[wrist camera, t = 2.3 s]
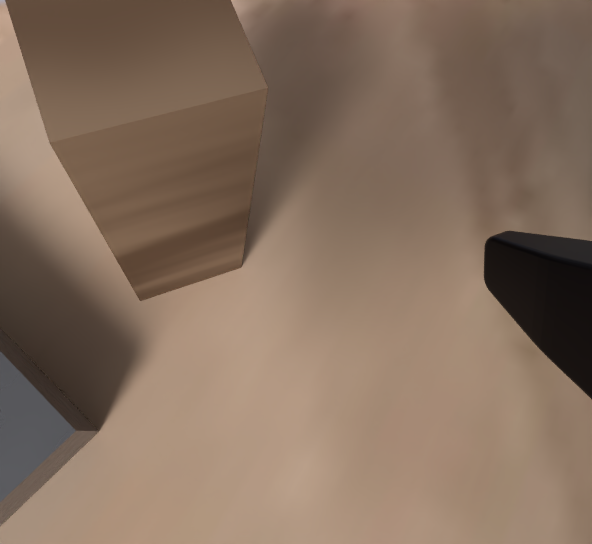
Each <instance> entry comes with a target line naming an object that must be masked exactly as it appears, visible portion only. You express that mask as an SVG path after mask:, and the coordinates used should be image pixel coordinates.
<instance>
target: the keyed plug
mask: <svg viewBox="0 0 592 544" xmlns="http://www.w3.org/2000/svg"><path fill="white" fill-rule="evenodd" d="M5 1H6V4H7V7H8V11H9V14H10V17H11V20H12V23H13V27H14V30H15V33H16V36H17V40H18V43H19V46H20V49H21V52H22V56H23V59H24V62H25V65H26V68H27V72H28V75H29V78H30V81H31V85H32V88H33V91H34V94H35V97H36V101H37V104H38V107H39V110H40V113H41V117H42V120H43V123H44V126H45V130H46V133H47V136H48V139H49V142H50V144H51V146H52V148H53V150H54V151H55V153H56V155H57V157H58V158H59V160H60V162H61V163H62V165H63V167H64V169H65V170H66V172H67V174H68V176H69V177H70V179H71V181H72V183H73V184H74V186H75V188H76V190H77V191H78V193H79V195H80V197H81V198H82V200H83V202H84V204H85V205H86V207H87V209H88V211H89V212H90V214H91V216H92V218H93V219H94V221H95V223H96V225H97V226H98V228H99V230H100V232H101V233H102V235H103V237H104V239H105V240H106V242H107V244H108V246H109V247H110V249H111V251H112V253H113V254H114V256H115V258H116V260H117V261H118V263H119V265H120V267H121V268H122V270H123V272H124V274H125V275H126V277H127V279H128V281H129V282H130V284H131V286H132V288H133V289H134V291H135V293H136V295H137V296H138V298H139V300H140V301H142V300H145V299H148V298H151V297H154V296H157V295H160V294H163V293H166V292H169V291H172V290H175V289H178V288H181V287H184V286H187V285H190V284H193V283H196V282H199V281H202V280H205V279H208V278H211V277H214V276H217V275H220V274H223V273H226V272H229V271H232V270H235V269H238V268H241V265H242V259H243V252H244V245H245V239H246V232H247V225H248V219H249V212H250V206H251V199H252V192H253V186H254V179H255V172H256V166H257V159H258V152H259V146H260V139H261V132H262V126H263V119H264V112H265V106H266V99H267V92H268V86H267V84H266V81H265V79H264V77H263V74H262V72H261V70H260V67H259V65H258V63H257V60H256V58H255V56H254V54H253V51H252V49H251V47H250V44H249V42H248V40H247V37H246V35H245V33H244V30H243V28H242V26H241V23H240V21H239V19H238V16H237V14H236V12H235V9H234V7H233V5H232V2H231V0H5Z"/></svg>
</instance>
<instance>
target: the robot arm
mask: <svg viewBox="0 0 592 544" xmlns="http://www.w3.org/2000/svg"><path fill="white" fill-rule="evenodd" d="M484 280H485V284H486V286H487V288H488V289H489V291H490V292H491V293H492V294H493V296H494V297H495V298H496V299H497V300H498V301H499V303H500V304H501V305H502V306H503V307H504V308H505V310H506V311H507V312H508V313H509V314H510V315H511V317H512V318H513V319H514V320H515V321H516V322H517V324H518V325H519V326H520V327H521V328H522V329H523V331H524V332H525V333H526V334H527V335H528V337H529V338H530V339H531V340H532V341H533V342H534V343H535V344H536V346H537V347H538V348H539V349H540V350H541V351H542V352H543V353H544V354H545V355H546V356H547V357H548V358H549V359H550V360H551V361H552V362H553V363H554V364H555V365H556V366H557V367H558V368H560V369H561V370H562V371H563V372H564V373H565V374H566V375H567V376H568V377H569V378H570V379H571V380H572V381H573V382H574V383H575V384H576V385H577V386H578V387H579V388H581V389H582V390H583V391H584V392H585V393H586V394H587V395H588V396H589V397H590V398H591V399H592V241H587V240H579V239H571V238H563V237H555V236H547V235H539V234H531V233H523V232H515V231H505V232H502V233H500V234H497V235H494V236H491V237H489V238H488V239H487V241H486V243H485V252H484Z"/></svg>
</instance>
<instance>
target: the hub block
mask: <svg viewBox="0 0 592 544" xmlns="http://www.w3.org/2000/svg"><path fill="white" fill-rule="evenodd" d="M98 432H99V431H98V430H97V429H96V428H95V427H94V426H93V425H92V423H91V422H90V421H89V420H88V419H87V418H86V417H85V416H84V415H83V414H82V413H81V412H80V411H79V410H78V409H77V408H76V407H75V406H74V405H73V404H72V403H71V401H70V400H69V399H68V398H67V397H66V396H65V395H64V394H63V393H62V392H61V391H60V390H59V389H58V388H57V387H56V386H55V385H54V384H53V383H52V382H51V381H50V380H49V378H48V377H47V376H46V375H45V374H44V373H43V372H42V371H41V370H40V369H39V368H38V367H37V366H36V365H35V364H34V363H33V362H32V361H31V360H30V359H29V358H28V356H27V355H26V354H25V353H24V352H23V351H22V350H21V349H20V348H19V347H18V346H17V345H16V344H15V343H14V342H13V341H12V340H11V339H10V338H9V337H8V336H7V334H6V333H5V332H4V331H3V330H2V329H1V328H0V526H1V525H2V524H3V523H4V522H5V521H6V520H7V519H8V518H9V517H10V516H11V515H13V514H14V513H15V512H16V511H17V510H18V509H19V508H20V507H21V506H22V505H23V504H24V503H25V502H26V501H27V500H28V499H29V498H30V497H31V496H32V495H33V494H34V493H35V492H36V491H38V490H39V489H40V488H41V487H42V486H43V485H44V484H45V483H46V482H47V481H48V480H49V479H50V478H51V477H52V476H53V475H54V474H55V473H56V472H57V471H58V470H59V469H60V468H61V467H62V466H64V465H65V464H66V463H67V462H68V461H69V460H70V459H71V458H72V457H73V456H74V455H75V454H76V453H77V452H78V451H79V450H80V449H81V448H82V447H83V446H84V445H85V444H86V443H87V442H89V441H90V440H91V439H92V438H93V437H94V436H95V435H96V434H97V433H98Z"/></svg>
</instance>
